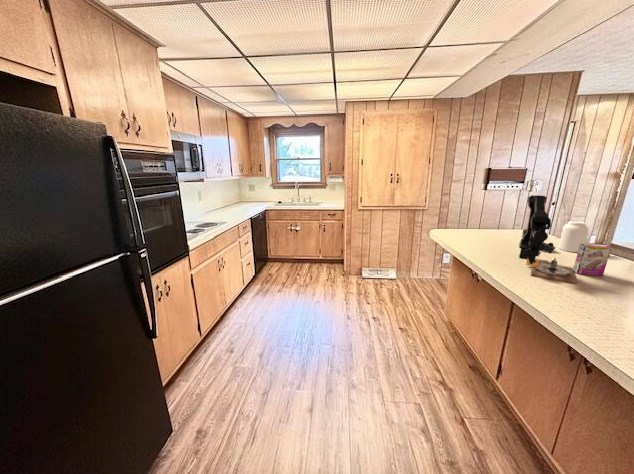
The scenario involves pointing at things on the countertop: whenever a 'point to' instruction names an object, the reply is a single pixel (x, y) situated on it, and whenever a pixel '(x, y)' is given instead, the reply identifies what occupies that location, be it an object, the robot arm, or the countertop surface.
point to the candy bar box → (591, 259)
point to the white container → (573, 236)
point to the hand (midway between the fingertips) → (531, 263)
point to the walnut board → (568, 278)
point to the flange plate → (548, 268)
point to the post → (553, 265)
